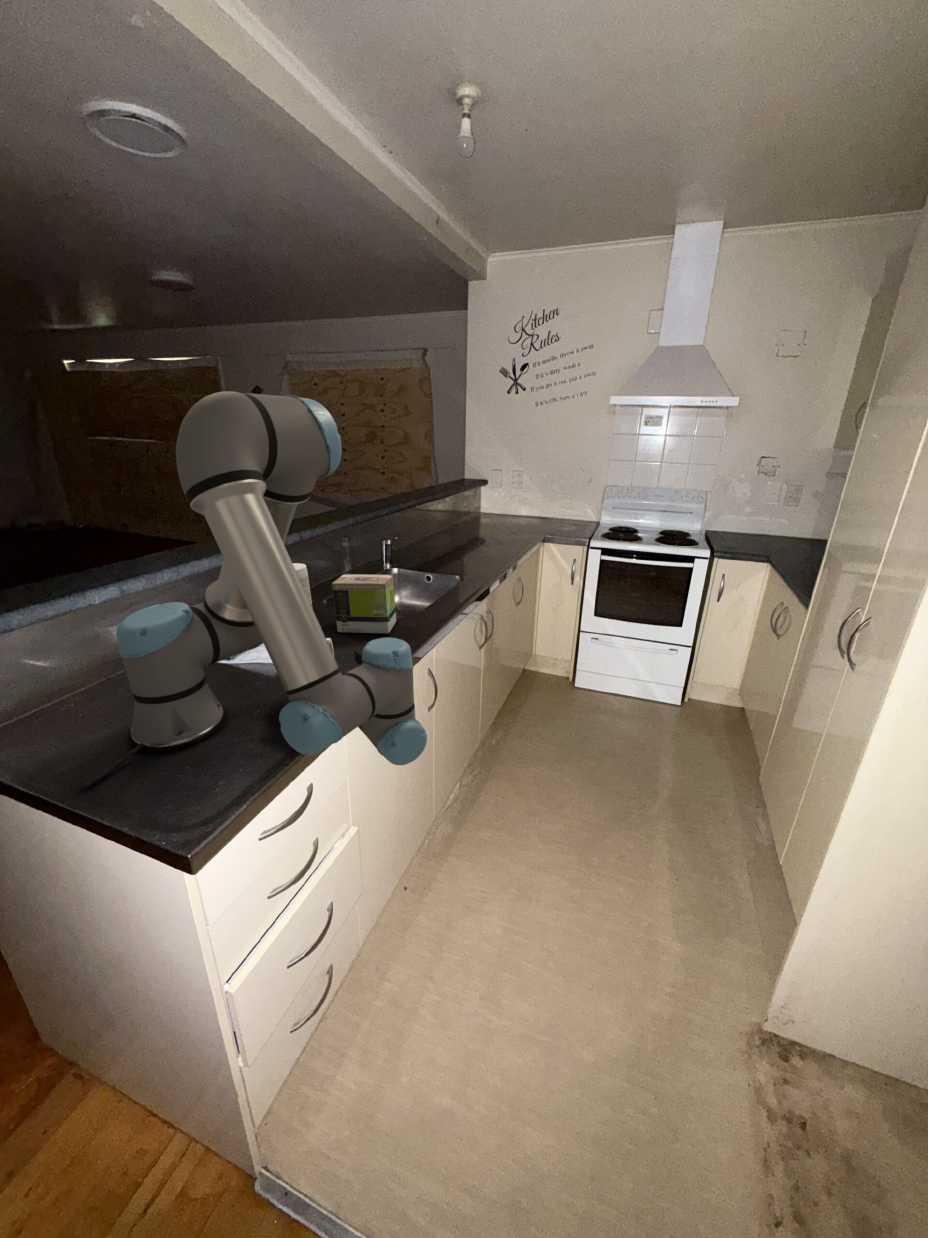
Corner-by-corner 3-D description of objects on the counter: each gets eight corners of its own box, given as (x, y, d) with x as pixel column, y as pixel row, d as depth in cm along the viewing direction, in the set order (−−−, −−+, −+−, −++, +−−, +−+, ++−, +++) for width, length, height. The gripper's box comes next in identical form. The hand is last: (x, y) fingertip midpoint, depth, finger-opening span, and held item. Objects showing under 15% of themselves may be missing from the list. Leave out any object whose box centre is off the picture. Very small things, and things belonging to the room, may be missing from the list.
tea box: (397, 621, 143) (394, 573, 138) (388, 635, 134) (385, 583, 129) (347, 620, 145) (343, 572, 140) (336, 633, 136) (330, 582, 130)
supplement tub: (316, 607, 156) (311, 562, 151) (308, 617, 147) (302, 570, 142) (286, 607, 156) (279, 562, 151) (276, 617, 147) (268, 570, 142)
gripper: (301, 747, 82) (268, 695, 98) (428, 702, 95) (380, 663, 111) (295, 708, 79) (262, 661, 95) (427, 668, 92) (378, 633, 109)
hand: (326, 662), depth 103 cm, fingers open, 13 cm apart
